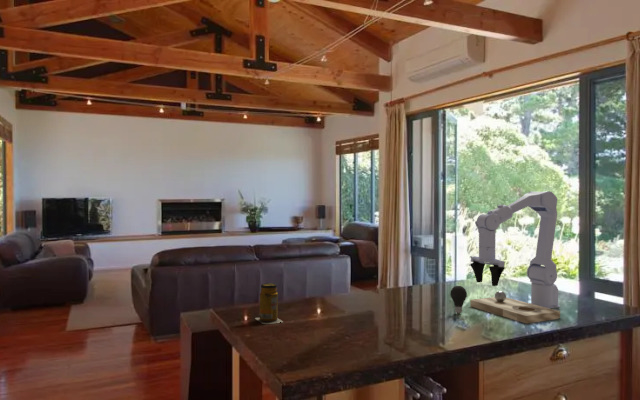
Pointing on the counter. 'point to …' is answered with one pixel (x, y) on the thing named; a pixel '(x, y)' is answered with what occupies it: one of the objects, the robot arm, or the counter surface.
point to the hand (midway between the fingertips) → (486, 283)
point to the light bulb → (458, 297)
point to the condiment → (268, 304)
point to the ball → (500, 296)
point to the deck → (516, 310)
